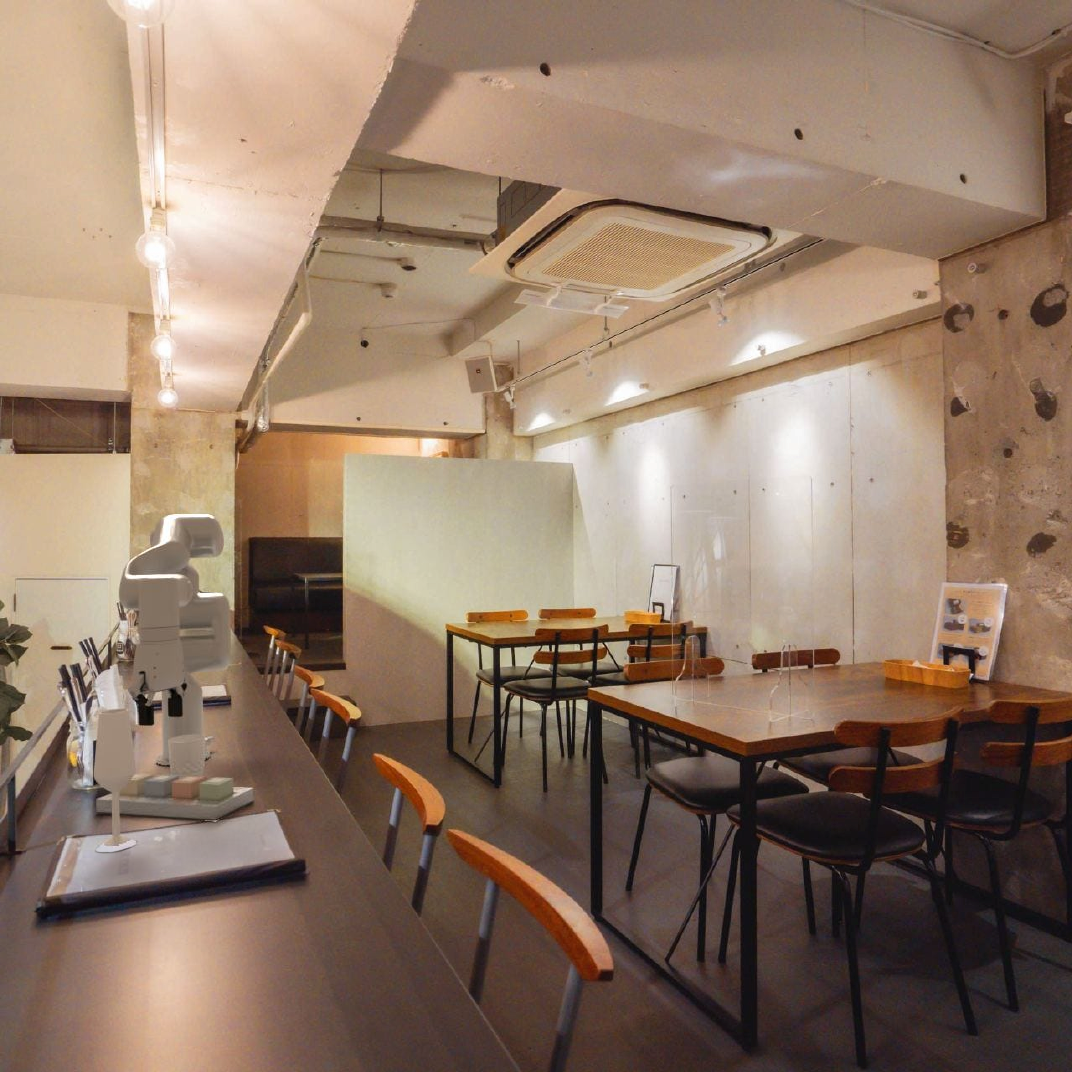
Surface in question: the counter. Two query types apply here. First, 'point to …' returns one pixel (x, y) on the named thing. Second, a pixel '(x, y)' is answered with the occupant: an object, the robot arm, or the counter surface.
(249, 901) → the counter surface
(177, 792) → the key
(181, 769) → the white cup
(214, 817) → the keyguard pad
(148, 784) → the key
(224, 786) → the key
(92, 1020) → the counter surface
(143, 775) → the key
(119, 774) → the champagne flute
